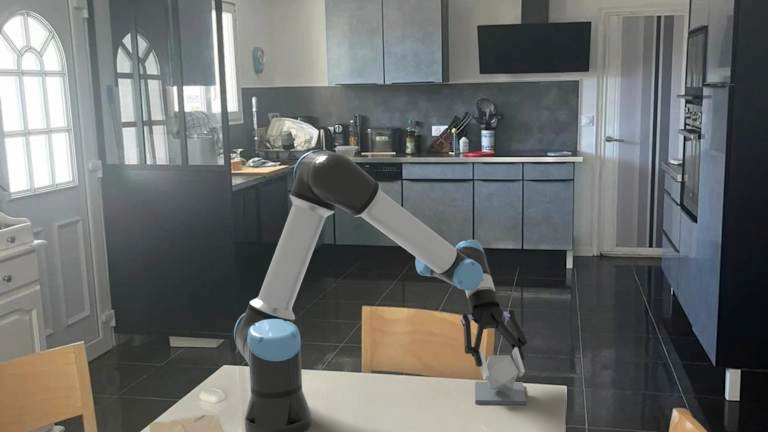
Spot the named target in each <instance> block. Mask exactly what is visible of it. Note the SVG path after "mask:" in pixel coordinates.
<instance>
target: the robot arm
mask: <svg viewBox="0 0 768 432" xmlns="http://www.w3.org/2000/svg"><path fill="white" fill-rule="evenodd" d="M293 181H294V183H293V186H292V187H291V191H290V193H289V199H290V201H291V203H292V206H291V209H290V211H289V213H288V216H287V219H286V222H285V224H284V228H283V229H282V233H281V235H280V238H279V240H278V243H277V246H276V248H275V251H274V254H273V256H272V260H271V262H270V264H269V267H268V270H267V272H266V275H265V277H264V281H263V283H262V285H261V289H260V291H259V294H258V296H257V297H256V298H253V299H252V300H250V301H249V303H248V306H247V307H246V311H245V312H244V313H243V314H241V315H240V317H239V318H238V319H237V321H236V323H235V326H234V329H233V338H234V343H235V346H236V348H237V350H238V351H239V353H240V354H241V355H242V356H243V358H244V359H245V361H246V363H247V364H248V367H249V369H248V370H249V383H250V397H249V401H248V404H247V408H246V412H245V415H244V430H245V431H246V432H305V431H306V430H307V429H308V428H310V427H311V425H312V413H311V412H312V411H311V409H310V406H309V404H308V402H307V398H306V396H305V392H304V391H303V377H302V375H303V373H302V353H301V350H302V348H301V345H302V341H301V340H302V339H301V335H300V331H299V328H298V326H297V325H296V324H294V321H295V319H296V316H295V314H294V312H293V306H294V303H295V301H296V299H297V296H298V292H299V290H300V287H301V284H302V282H303V279H304V277H305V274H306V272H307V268H308V267H309V263H310V260H311V258H312V255H313V252H314V250H315V247H316V245H317V242H318V240H319V237H320V234H321V231H322V229H323V226H324V223H325V221H326V218H328V216H331V215H332V214H334V213H335V212H336V209H337V207H338V208H340V209H342V210H344V211H346V212H347V213H349V215H352V216H353V217H355V218H357V217H359V218H360V217H361V218H363V219H364V220H365V221H366V222H368V223H369V224H371V225H372V226H373V227H375V228H376V229H377V230H379V231H380V232H382V234H384V235H386V237H388V238H390V240H392V241H393V242H395V243H396V244H398V245H399V246H400V247H402V248H403V249H405V250H406V251H407V252H408V253H410V254H411V255H413V256H414V257H415V261H414V262H415V264H414V265H415V270H416V272H417V274H419V275H420V276H426V277H429V278H430V277H435V278H438V279H440V280H442V281H444V282H447V283H449V284H451V285H452V286H455V287H456V288H457V289H459V290H463V291H465V294H466V298H467V302H468V306H469V310H470V314H466V313H464V314H463V315H462V317H461V319H460V322H461V324H462V327H463V343H464V344H463V345H464V354H466V355H471V356H472V357H473V358H474V362H475V366H476V368H477V367H478V368H480V371H481V375H482V379H483V381H486V380H487V379H488V377H489V372H488V368H487V365H486V363H487V361H486V358H485V354H484V353H485V352H484V351H483V350H480V348H481V345H482V339H483V334H484V330H488V329H495V330H496V331H497V332H498V333H500V335H501V336H502V337H503V338H504V340H505V341H506V342H507V343H508V345H509V346H510V347H511V348H512V352H511V355H512V358H513V362H514V364H515V366H516V367H517V369H518V371H519V373H518V375H517V376H518V377H523V375H524V374H525V372H526V371H525V368H524V364H523V362H524V360H525V355H524V352H523V349H525V347H526V345H527V344H528V341H527V339H526V337H525V335H524V333H523V331H522V328H521V327H520V325H519V323H518V321H517V319H516V318H515V311H514V310H513V309H510V310H509V311H504V310H503V309H502V308H501V306H500V301H499V299H498V298H499V297H498V295H497V292H496V289H495V285H494V282H493V281H494V280H493V277H492V276H491V271H490V268H489V264H488V260H487V255H486V253H485V251H484V248H483V246H482V244H481V243H480V242H479V241H478V240H476V239H468V240H463V241H461V242H459V243H458V244H456V246H455V247H454V245H452V244H451V243H449V242H448V241H447V240H446V239H444V238H443V237H442V236H441V235H439V234H438V233H437V232H435V231H434V230H433V229H432V228H431V227H429V226H428V225H426V224H424V222H423V221H421V220H419V218H417V217H416V216H414V215H413V214H412V213H411V212H409V211H408V210H406V209H405V207H403V206H401V205H400V204H398V203H397V201H395V200H393V199H392V198H391V197H390V196H389V195H388V194H386V193H385V192H384V191H382V190H381V184H380V183H379V182H378V181H376V180H375V179H374V178H373V177H372V176H370V174H368V173H367V172H366V171H365V170H364V169H362V168H361V167H360V166H359V165H358V164H357V163H355V162H354V160H352V159H351V158H350V157H348V156H346V155H344V154H342V153H338V152H334V151H330V150H327V149H315V150H311V151H309V152H306V153H305V154H303V155H302V156H301V157H299V159H298V160H297V162H296V163H295V166H294V169H293ZM503 318H504V320H505V321H506V322H507V323H508V326H506V323H505V321H504V320H503ZM472 321H473V322H474V323H475V324H476V325H477V328H476V334H475V339H474V342H473V343H474V344H472V328H471V327H472V325H471V323H472ZM508 327H509V328H508ZM472 345H473V346H472Z"/></svg>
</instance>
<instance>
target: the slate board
mask: <svg viewBox="0 0 768 432" xmlns="http://www.w3.org/2000/svg"><path fill="white" fill-rule="evenodd" d="M474 394H475V395H474V397H475V399H474V401H475V405H507V406H508V405H511V406H512V405H518V406H519V405H520V406H521V405H523V406H526V405H527V400H526V399H527V398H526V393H525V388H524V381H515V382H514V385H513V387H512V389H496V390H491V388H490V386H489V384H488V382H487V381H480V380H479V381H475V382H474Z"/></svg>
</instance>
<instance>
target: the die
mask: <svg viewBox="0 0 768 432" xmlns="http://www.w3.org/2000/svg"><path fill="white" fill-rule="evenodd" d="M512 358H513V357H512V356H511V355H510V354H502V355H500V354H499V355H488V358H487V361H486V365H487V368H488V372H489V377H488V379H487V380H485V382H488V384H489V386H490V388H491V390H496V389H512V387H513V385H514V382H516V380H517V378H518V376H519V375H518V373H519V371H518V369H517V367H516V365H515V362H514V359H512Z"/></svg>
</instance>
